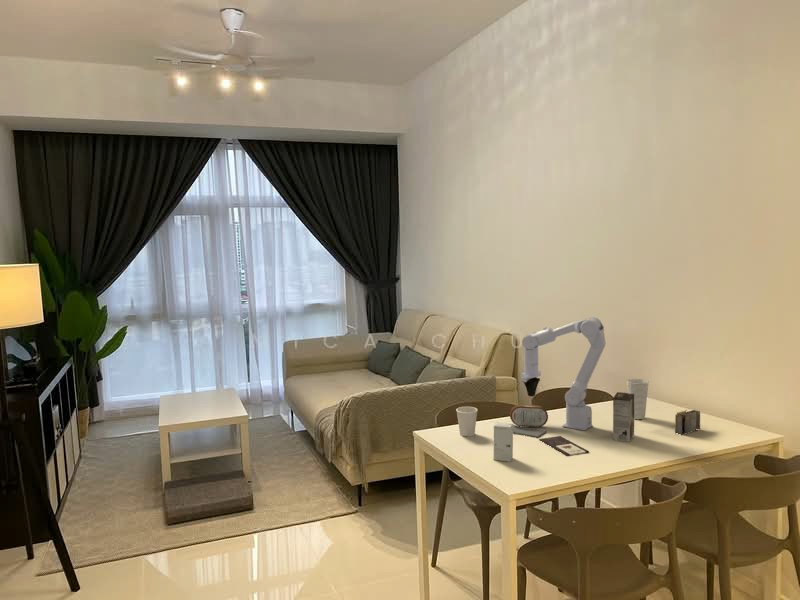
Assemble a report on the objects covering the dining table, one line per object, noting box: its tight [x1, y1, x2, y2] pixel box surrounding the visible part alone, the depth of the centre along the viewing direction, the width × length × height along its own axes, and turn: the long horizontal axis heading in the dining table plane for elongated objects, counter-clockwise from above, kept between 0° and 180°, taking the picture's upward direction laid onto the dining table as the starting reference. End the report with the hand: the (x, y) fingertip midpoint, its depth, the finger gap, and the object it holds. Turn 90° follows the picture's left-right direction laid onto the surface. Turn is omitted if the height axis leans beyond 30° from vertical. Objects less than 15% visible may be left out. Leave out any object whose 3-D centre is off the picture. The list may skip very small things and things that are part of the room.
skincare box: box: [492, 421, 514, 463], centre depth 205 cm, size 6×4×12 cm
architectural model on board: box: [674, 409, 701, 435], centre depth 228 cm, size 11×3×10 cm, turn 120°
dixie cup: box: [455, 406, 478, 437], centre depth 232 cm, size 8×8×10 cm
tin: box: [509, 404, 549, 428], centre depth 240 cm, size 15×3×8 cm, turn 85°
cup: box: [626, 378, 649, 420], centre depth 247 cm, size 8×8×16 cm
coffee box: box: [612, 391, 635, 443], centre depth 223 cm, size 9×6×16 cm
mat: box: [513, 424, 547, 439], centre depth 235 cm, size 17×8×1 cm, turn 53°
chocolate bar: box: [539, 435, 590, 457], centre depth 217 cm, size 9×1×18 cm
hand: (531, 395), depth 248 cm, fingers closed
